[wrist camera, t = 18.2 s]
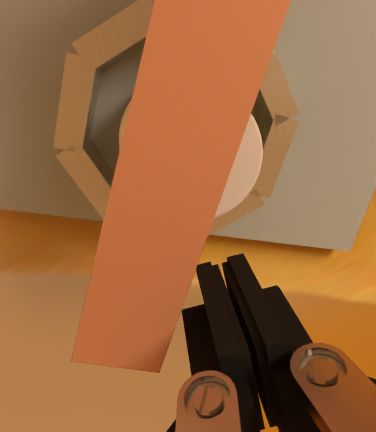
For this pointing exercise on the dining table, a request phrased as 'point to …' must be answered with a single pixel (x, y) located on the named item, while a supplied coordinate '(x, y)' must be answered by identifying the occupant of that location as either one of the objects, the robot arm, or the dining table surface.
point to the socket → (87, 99)
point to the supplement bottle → (242, 167)
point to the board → (303, 96)
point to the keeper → (172, 171)
